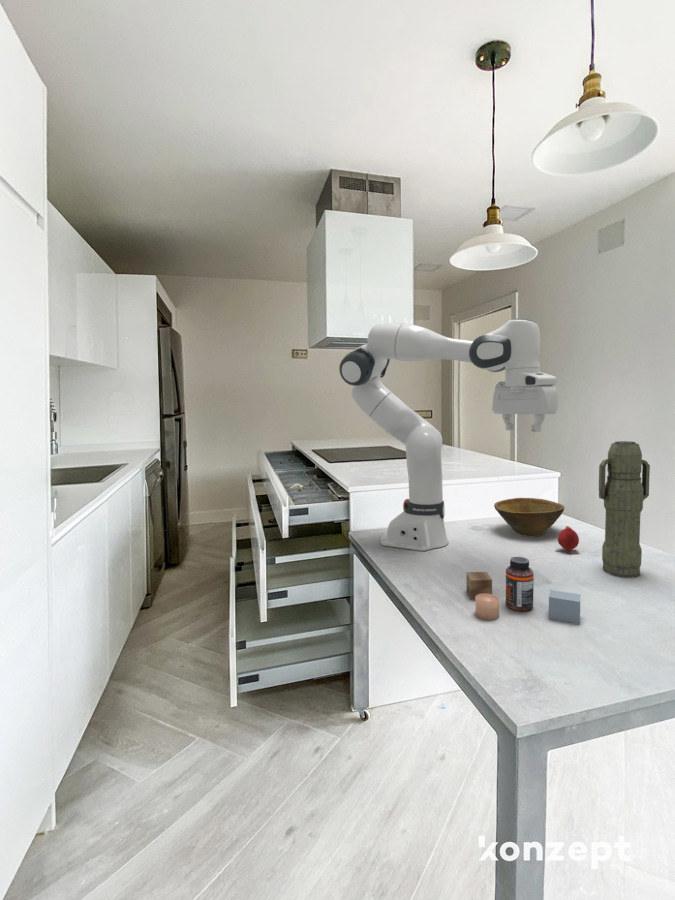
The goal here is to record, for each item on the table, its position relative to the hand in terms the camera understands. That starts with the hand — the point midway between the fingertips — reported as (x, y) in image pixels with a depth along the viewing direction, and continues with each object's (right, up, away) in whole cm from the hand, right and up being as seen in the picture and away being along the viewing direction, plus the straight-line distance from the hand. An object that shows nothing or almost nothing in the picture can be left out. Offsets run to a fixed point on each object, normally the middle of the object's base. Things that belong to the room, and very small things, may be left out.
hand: (522, 430), depth 124 cm
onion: (+20, -37, +15) cm, 44 cm away
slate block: (-1, -42, -25) cm, 49 cm away
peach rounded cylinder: (-17, -42, -23) cm, 51 cm away
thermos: (+26, -38, -2) cm, 46 cm away
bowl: (+16, -34, +35) cm, 52 cm away
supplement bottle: (-9, -42, -20) cm, 47 cm away
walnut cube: (-16, -41, -13) cm, 46 cm away
